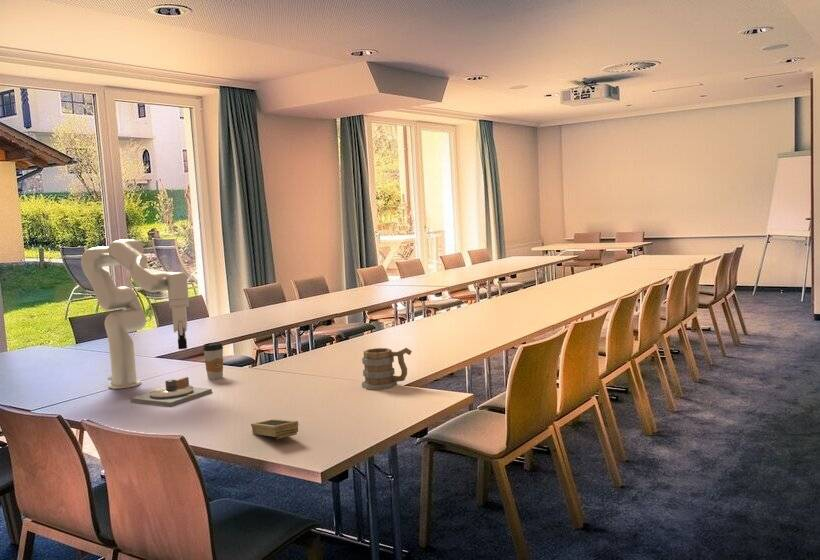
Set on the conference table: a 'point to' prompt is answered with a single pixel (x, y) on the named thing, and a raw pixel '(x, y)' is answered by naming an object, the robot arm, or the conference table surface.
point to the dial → (173, 389)
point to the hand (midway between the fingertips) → (182, 348)
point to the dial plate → (171, 398)
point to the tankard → (382, 368)
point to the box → (275, 428)
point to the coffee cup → (214, 360)
